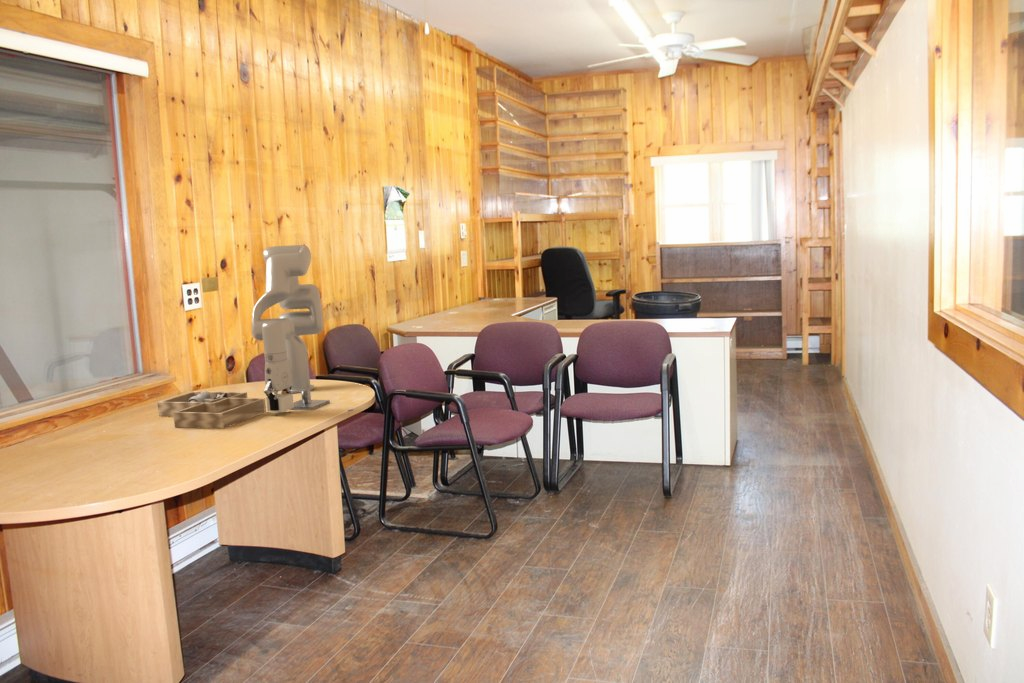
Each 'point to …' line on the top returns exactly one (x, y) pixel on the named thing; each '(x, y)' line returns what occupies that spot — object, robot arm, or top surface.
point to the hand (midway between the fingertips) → (280, 407)
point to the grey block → (282, 402)
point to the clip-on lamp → (205, 397)
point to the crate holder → (182, 403)
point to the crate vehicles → (237, 413)
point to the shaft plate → (308, 402)
